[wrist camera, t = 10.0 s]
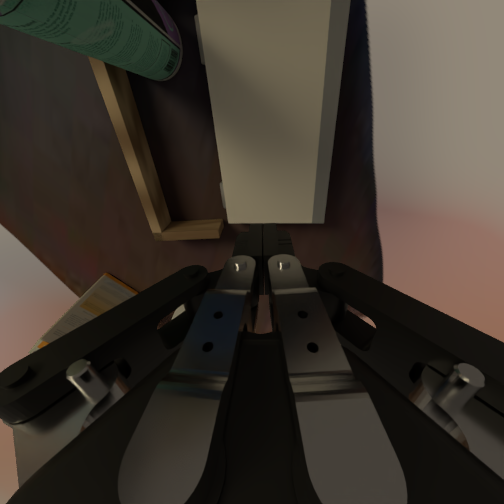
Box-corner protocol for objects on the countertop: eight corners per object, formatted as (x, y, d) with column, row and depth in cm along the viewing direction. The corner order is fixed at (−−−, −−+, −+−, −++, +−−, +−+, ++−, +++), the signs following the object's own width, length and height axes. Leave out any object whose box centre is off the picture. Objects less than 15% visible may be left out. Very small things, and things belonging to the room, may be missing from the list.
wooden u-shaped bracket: (84, -20, 18) (50, -47, 15) (182, -35, 17) (165, -66, 14) (165, 229, 31) (155, 241, 28) (223, 226, 30) (219, 238, 27)
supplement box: (94, 284, 38) (24, 353, 26) (107, 270, 36) (37, 338, 25) (134, 309, 41) (87, 380, 30) (148, 298, 39) (103, 368, 28)
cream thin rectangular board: (185, -24, 16) (357, -61, 14) (192, -14, 17) (352, -47, 15) (223, 223, 27) (323, 223, 25) (226, 218, 29) (322, 218, 26)
